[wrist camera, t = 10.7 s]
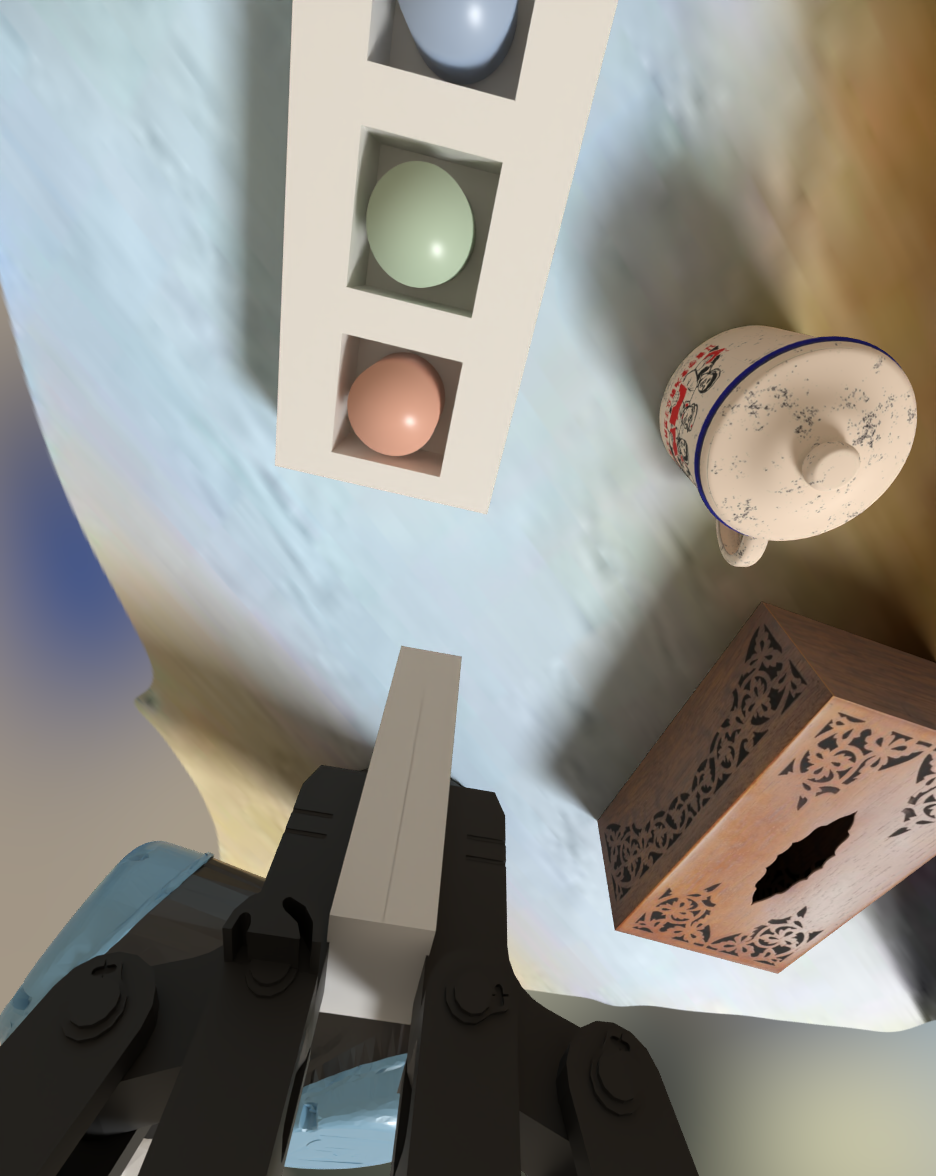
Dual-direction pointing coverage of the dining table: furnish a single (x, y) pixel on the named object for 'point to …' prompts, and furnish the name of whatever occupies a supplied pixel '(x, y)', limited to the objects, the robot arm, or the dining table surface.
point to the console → (502, 214)
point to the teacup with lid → (786, 432)
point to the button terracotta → (396, 404)
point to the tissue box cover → (778, 795)
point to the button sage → (420, 225)
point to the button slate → (462, 35)
